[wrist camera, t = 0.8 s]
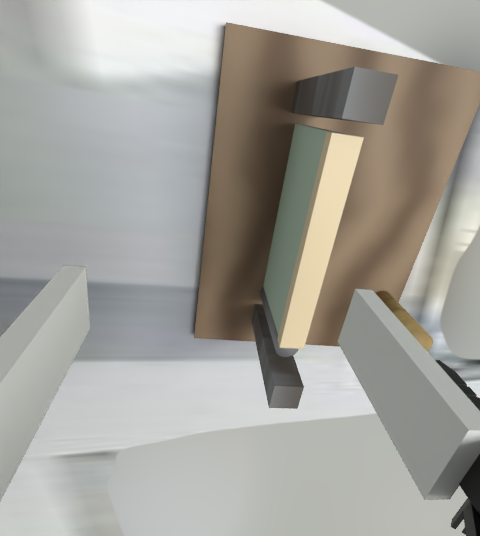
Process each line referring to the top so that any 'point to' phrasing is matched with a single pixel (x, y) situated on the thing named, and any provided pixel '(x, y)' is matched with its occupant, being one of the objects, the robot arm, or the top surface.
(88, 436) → the top surface
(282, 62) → the gate frame
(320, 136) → the bar
